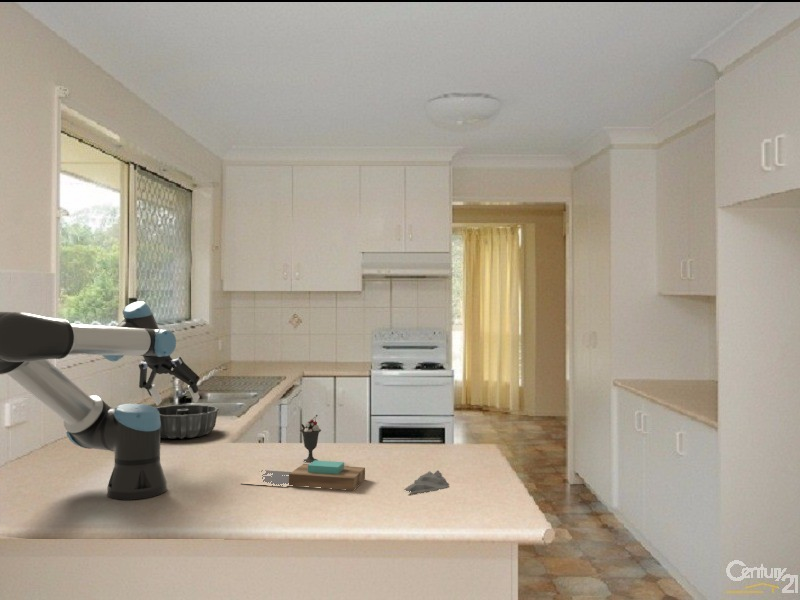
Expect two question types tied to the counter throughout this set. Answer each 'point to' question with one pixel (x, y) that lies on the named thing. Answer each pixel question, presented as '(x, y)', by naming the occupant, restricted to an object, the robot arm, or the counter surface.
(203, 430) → the bundt pan
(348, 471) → the brown wooden slab
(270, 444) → the counter surface
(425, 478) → the cloth
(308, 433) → the sundae
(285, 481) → the mat
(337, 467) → the rectangular block
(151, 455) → the robot arm
